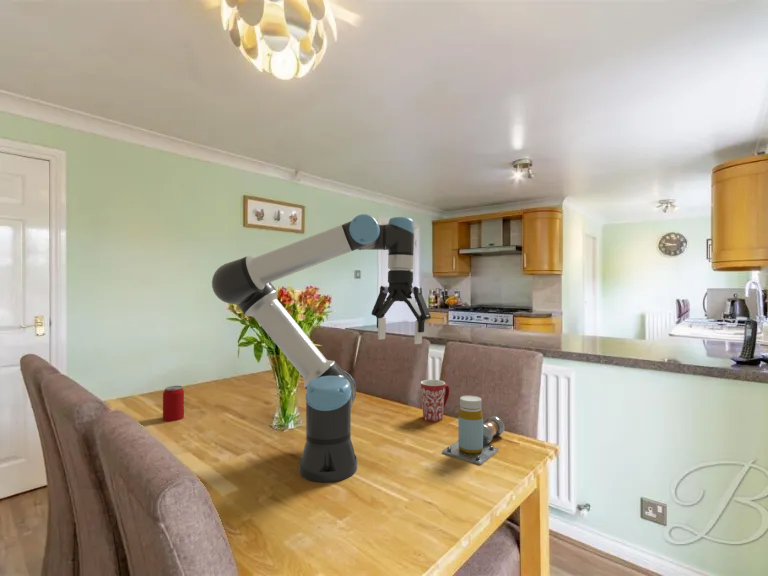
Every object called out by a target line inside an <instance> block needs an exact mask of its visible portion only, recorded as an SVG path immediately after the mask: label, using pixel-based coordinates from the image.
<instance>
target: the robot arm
mask: <svg viewBox="0 0 768 576" xmlns="http://www.w3.org/2000/svg"><path fill="white" fill-rule="evenodd" d="M414 225H415V224H414V221H413V219H412V218H409V217H406V216H405V217H404V216H395V217H391V218H390V219H389V220H388V223H387V224H379V223H378V222H377V220H376V218H374V217H373V216H372V215H369V214H367V213H365V214H364V213H362V214H358V215H356V216H355V217H354V218H352V220H350V221H348V222H345V223H343V224H340V225H337V226H335V227H332V228H329V229H327V230H324V231H322V232H319V233H316V234H313V235H310V236H308V237H306V238H303V239H300V240H298V241H295V242H292V243H290V244H287V245H284V246H282V247H279V248H277V249H274V250H272V251H269V252H266V253H263V254H261V255H258V256H256V257H253V256H251V255H247V256H244V257H241V258H238V259H236V260H233V261H230V262H226V263H224V264H222V265H220V266H219V267H218V268H217V269H216V270H215V272H214V273H213V276H212V279H211V287H212V291H213V293H214V294H215V296H216V297H217V298H218V299H219V300H221V301H222V302H224V303H225V304H230V305H236V306H238V309H239V310H240V311H242V313H243V314H244V315H245V316H246V317H253V318H254V319H255V320H256V322H257V323H258V324H259V325H260V327H261V328H262V329H263V330H264V332H265V333H266V334H267V335H268V336H269V338H270V339H271V340H272V341H273V343H275V345H276V346H277V347H278V348H279V350H280V351H281V352H282V353H283V355H284V357H286V359H287V360H288V361H289V362H290V363H291V365H292V366H293V367H294V368H295V369H296V371H297V372H298V373H299V374H300V375H301V377H303V378H302V379H304V383H303V387H304V389H305V390H306V392H305V401H306V402H305V405H306V407H305V408H306V409H305V410H306V411H305V414H306V415H305V417H306V419H305V423H306V425H305V430H306V431H305V434H306V435H305V436H306V437H305V438H306V441H305V445H304V448H303V452H302V456H301V458H300V460H299V467H298V469H299V475H300V476H301V477H302V478H304V479H306V480H307V481H310V482H315V483H335V482H340V481H342V480H346V479H348V478H351V476H353V475H354V474H355V473H356V472H357V470H358V458H357V455H356V453H355V449H354V445H353V443H352V439H351V430H352V429H351V427H352V426H351V425H352V423H351V421H352V419H351V414H352V413H351V412H352V407H353V403H354V402H355V399H356V396H357V386H356V382H355V380H354V378H353V377H352V375H351V374H350V373H348V372H347V371H345V370H343V369H342V368H341V367H340V366H339V364H338V363H337V362H336V361H335V360H329V359H327V358H326V357H325V355H324V354H323V353H322V352H321V351H320V350H319V348H318V347H317V346H316V344H315V343H314V342H313V341H312V340H311V338H310V337H309V336H308V335H307V333H305V331H304V330H303V328H302V327H301V326H300V325H299V323H298V322H297V321H296V320H295V319H294V318H293V317H292V315H291V314H290V313H289V312H288V311H287V309H286V308H285V307H284V306H283V304H282V303H281V302H280V301H279V299H278V293H279V292H278V290H277V289H276V287H274V285H273V284H272V282H274V281H278V280H281V279H282V278H285V277H287V276H291V275H294V274H295V273H298V272H301V271H304V270H306V269H309V268H311V267H315V266H316V265H318V264H322V263H325V262H328V261H329V260H332V259H335V258H337V257H340V256H342V255H343V256H344V254H347V253H350V252H354V251H356V250H358V251H362V250H363V251H364V250H366V251H367V250H372V251H373V250H374V251H375V250H377V251H379V250H381V251H382V250H383V251H388V253H387V255H388V256H387V257H388V258H387V269H389V270H388V271H387V283H388V286H387V285H381V286H380V287H379V294H378V296H377V299H376V301H375V303H374V306H373V309H372V311H371V316H374V317H376V329H377V340H385V339H386V329H387V328H386V327H387V325H386V323H387V321H386V320H387V318H386V317H385V315H386V314H387V313H388V311H389V310H390V308H391V307H392V306H393V304H394V303H395V302H404V303H405V304H407V306H408V308H409V310H410V311H411V312H412V314H413V316H414V317H415V319H416V320H415V321H414V341H413V342H414V345H420V344H423V333H424V332H425V321H427V320H430V319H431V314H430V310H429V308H428V306H427V303H426V301H425V298H424V296H423V291H422V290H423V288H422V286H417V285H416V286H413V283H414V271H412V270H414V247H415V244H414V243H415V232H414V231H415V226H414ZM412 294H413V295H412ZM413 296H414V297H413Z"/></svg>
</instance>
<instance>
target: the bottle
mask: <svg viewBox="0 0 768 576" xmlns="http://www.w3.org/2000/svg"><path fill="white" fill-rule="evenodd" d="M482 402H483V401H482V398H481V397H480V396H476V395H462V396H460V398H459V407H460V409H459V411H458V427H457V428H458V440H457V441H458V445H459V448H460V450H461V451H463V452H465V453H469V454H476V453H480V452H481V451H482V450H483V424H484V413H483V411H482V404H483V403H482Z"/></svg>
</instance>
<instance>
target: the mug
mask: <svg viewBox="0 0 768 576" xmlns="http://www.w3.org/2000/svg"><path fill="white" fill-rule="evenodd" d="M420 386H421V387H420V388H421V405H422V406H421V408H422V419H423V418H424V419H423V420H425V421H427V420H428V422H434V421H435V422H440V420H441V421H443V419H444V408H445V406H446V404H447V402H448V399H449V396H450V387H449V385H448V384H446V381H443V380H441V379H440V380H438V379H426V380H421V381H420Z"/></svg>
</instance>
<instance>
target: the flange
mask: <svg viewBox="0 0 768 576" xmlns="http://www.w3.org/2000/svg"><path fill="white" fill-rule="evenodd" d="M505 428H506V427H505V423H504V421H503V420H502V419H501V418H500V417H499V416H496V415H493V416H490V417H489V418H486V420H485V421H484V423H483V450H482V451H481V452H480V453H476V454H469V453H465V452H463V451H461V450H460V448H459V445H458V440H457V441H455V442H454V443H452V444H451V445H449V446H447V447H446V448H445V449H442V451H441V453H442V454H444V455H447V456H450V457H453V458H457V459H460V460H463V461H467V462H469V463H473V464H476V465H478V466H481V465H483V464H484V463H485V462H487V461H488V460H489V459H490V458H492V457H493V456H494V455H496V454H497V453H498V452H499V448H497V447H495V446H494V445H492V444H490V445H488V444H489V443H491V442H492V441H493V439H494V436H496V438H497V437H499V436H501V435H502V434H504V431H505Z"/></svg>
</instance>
